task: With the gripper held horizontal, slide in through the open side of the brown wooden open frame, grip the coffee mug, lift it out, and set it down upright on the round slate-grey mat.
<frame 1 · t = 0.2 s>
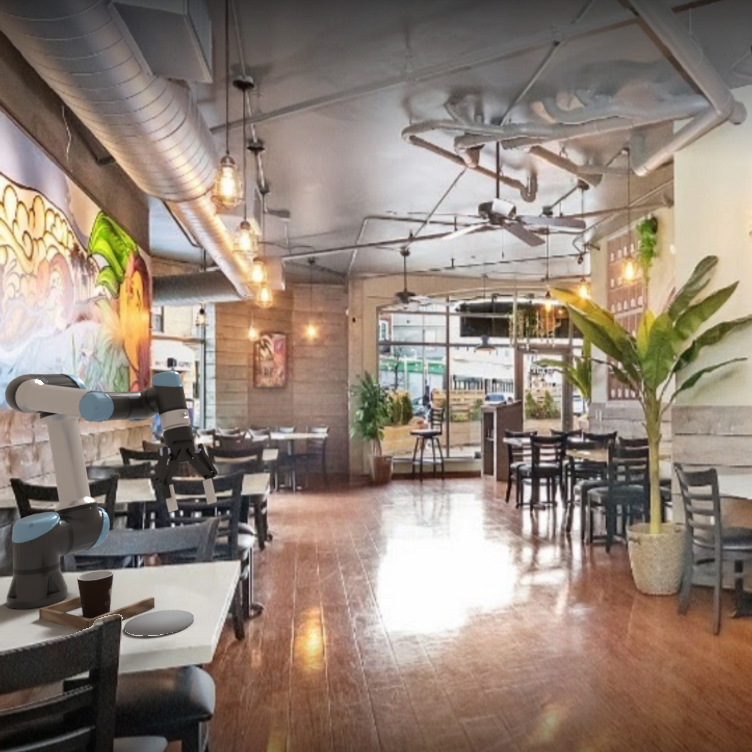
hand: (193, 507, 166), 27 cm above the table, tool tilted 15°, fingers open, 13 cm apart
mat: (159, 624, 156), on the table
brown wooden open frame: (100, 612, 166), on the table
coffee mug: (100, 612, 166), on the table
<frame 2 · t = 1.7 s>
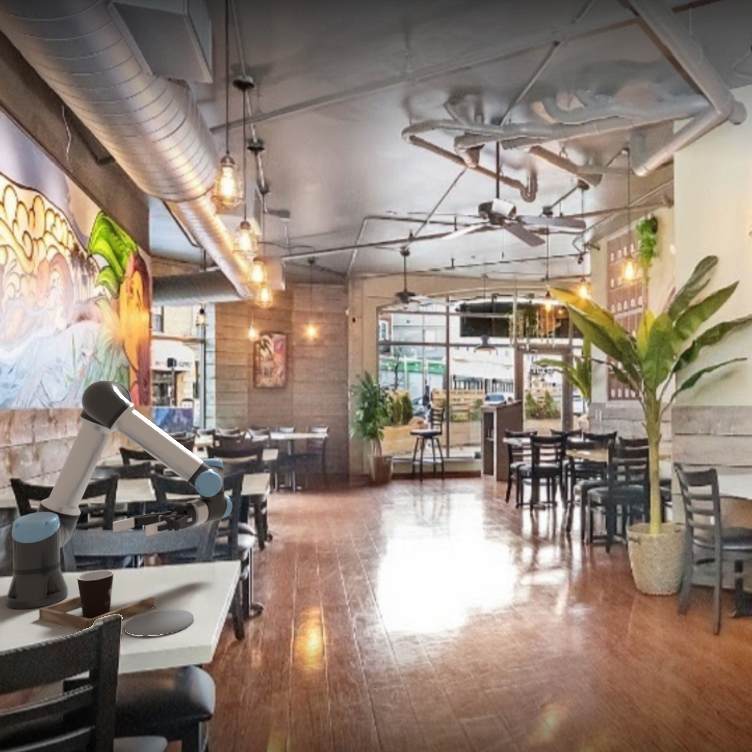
hand: (129, 529, 175), 20 cm above the table, tool horizontal, fingers open, 13 cm apart
nothing on the table moved.
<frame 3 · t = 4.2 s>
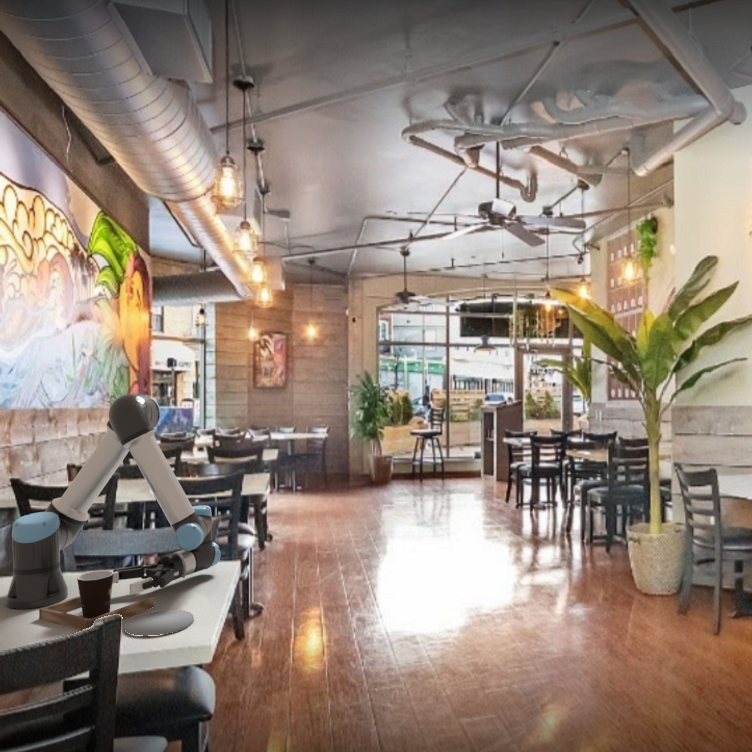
hand: (113, 586, 169), 6 cm above the table, tool horizontal, fingers open, 13 cm apart
nothing on the table moved.
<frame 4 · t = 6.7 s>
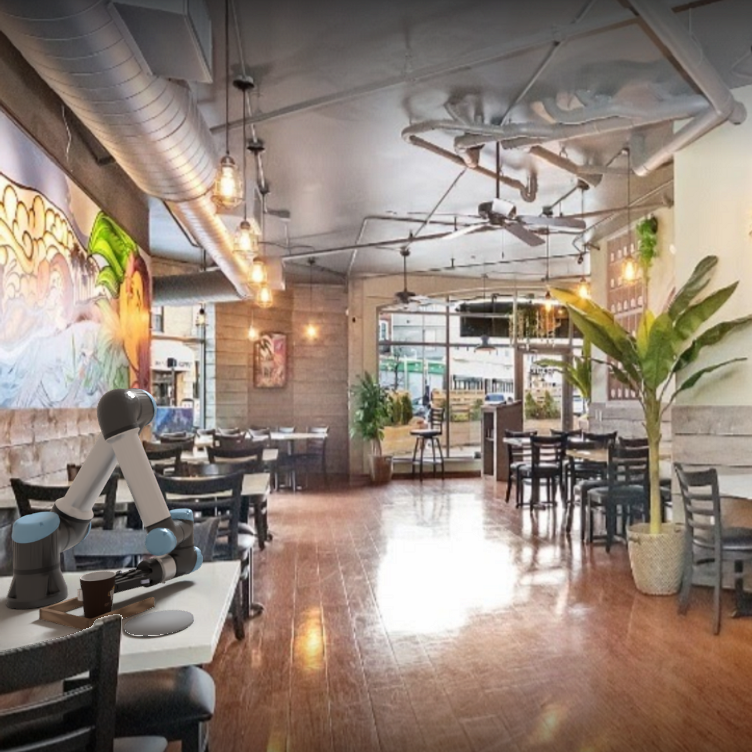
hand: (79, 595, 162), 6 cm above the table, tool horizontal, fingers closed
coffee mug: (102, 613, 166), on the table, touching gripper
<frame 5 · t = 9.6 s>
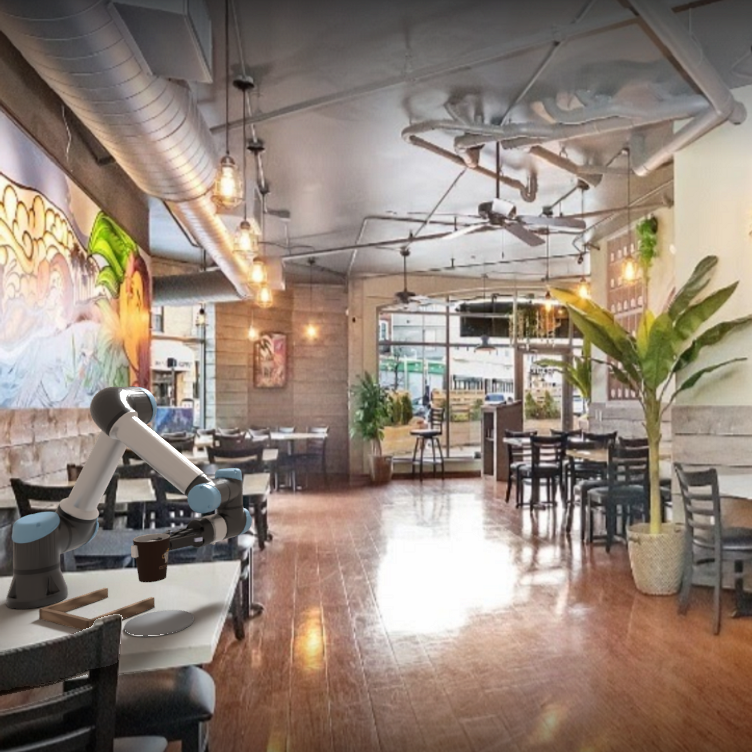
hand: (133, 551, 153), 19 cm above the table, tool horizontal, fingers closed
coffee mug: (157, 577, 158), point 11 cm above the table, touching gripper
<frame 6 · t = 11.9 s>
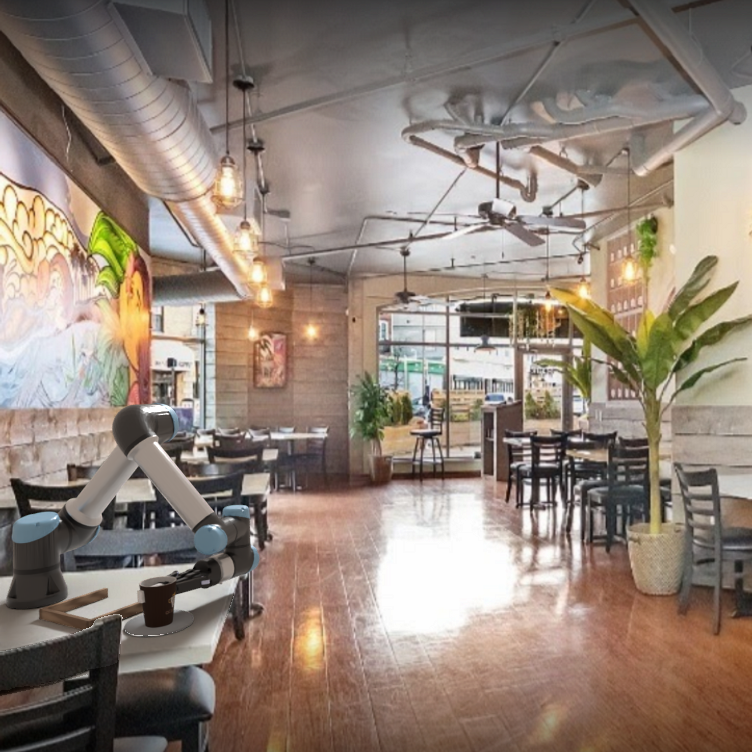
hand: (139, 597, 151), 8 cm above the table, tool horizontal, fingers closed
coffee mug: (163, 621, 156), point 1 cm above the table, touching hand, mat
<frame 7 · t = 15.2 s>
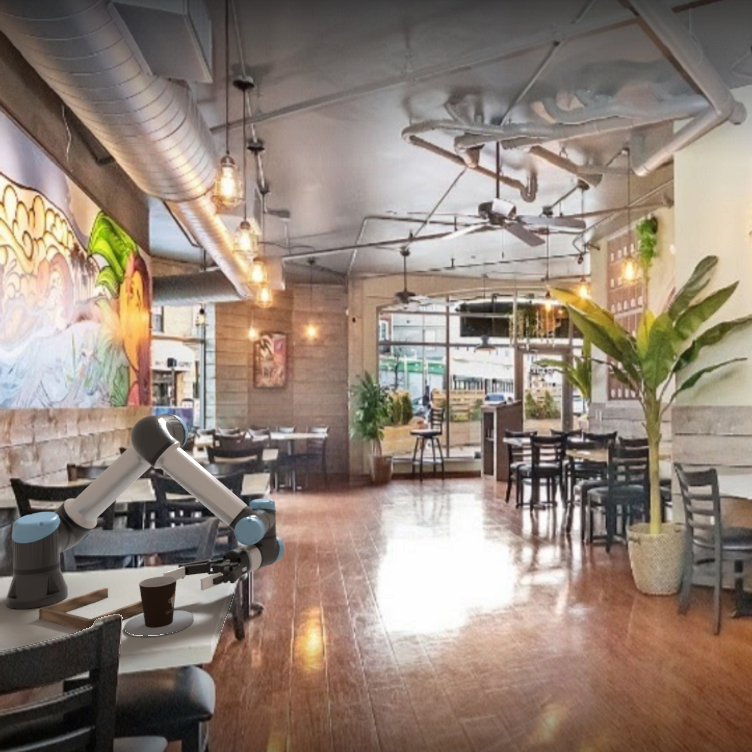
hand: (182, 581, 162), 8 cm above the table, tool horizontal, fingers open, 13 cm apart
coffee mug: (163, 621, 156), point 1 cm above the table, touching mat
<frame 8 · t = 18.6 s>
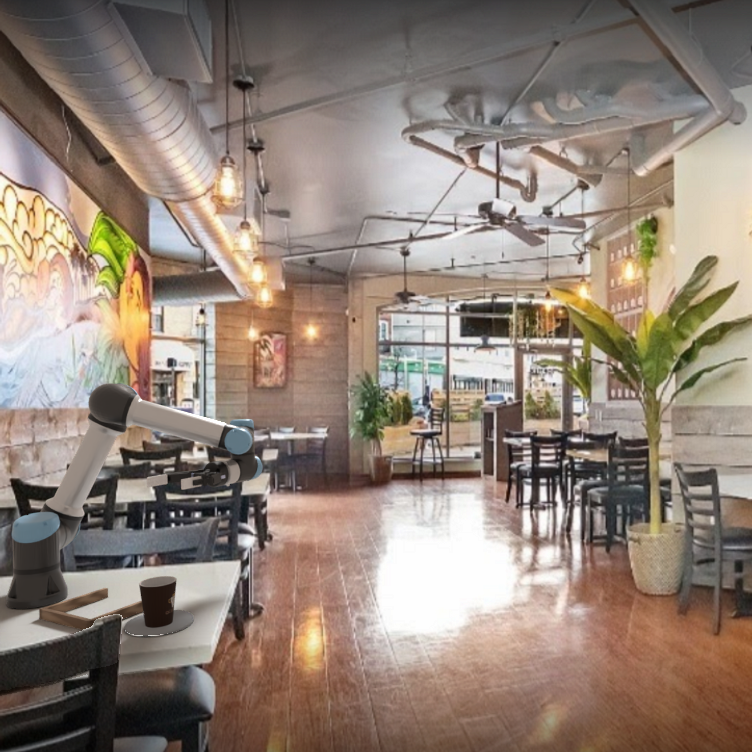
hand: (164, 483, 174), 32 cm above the table, tool horizontal, fingers open, 13 cm apart
nothing on the table moved.
at the end: coffee mug inside the target area on the mat (1.0 cm from its centre), point 0.6 cm above the mat's base; coffee mug tilted 0°; the gripper is holding nothing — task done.
